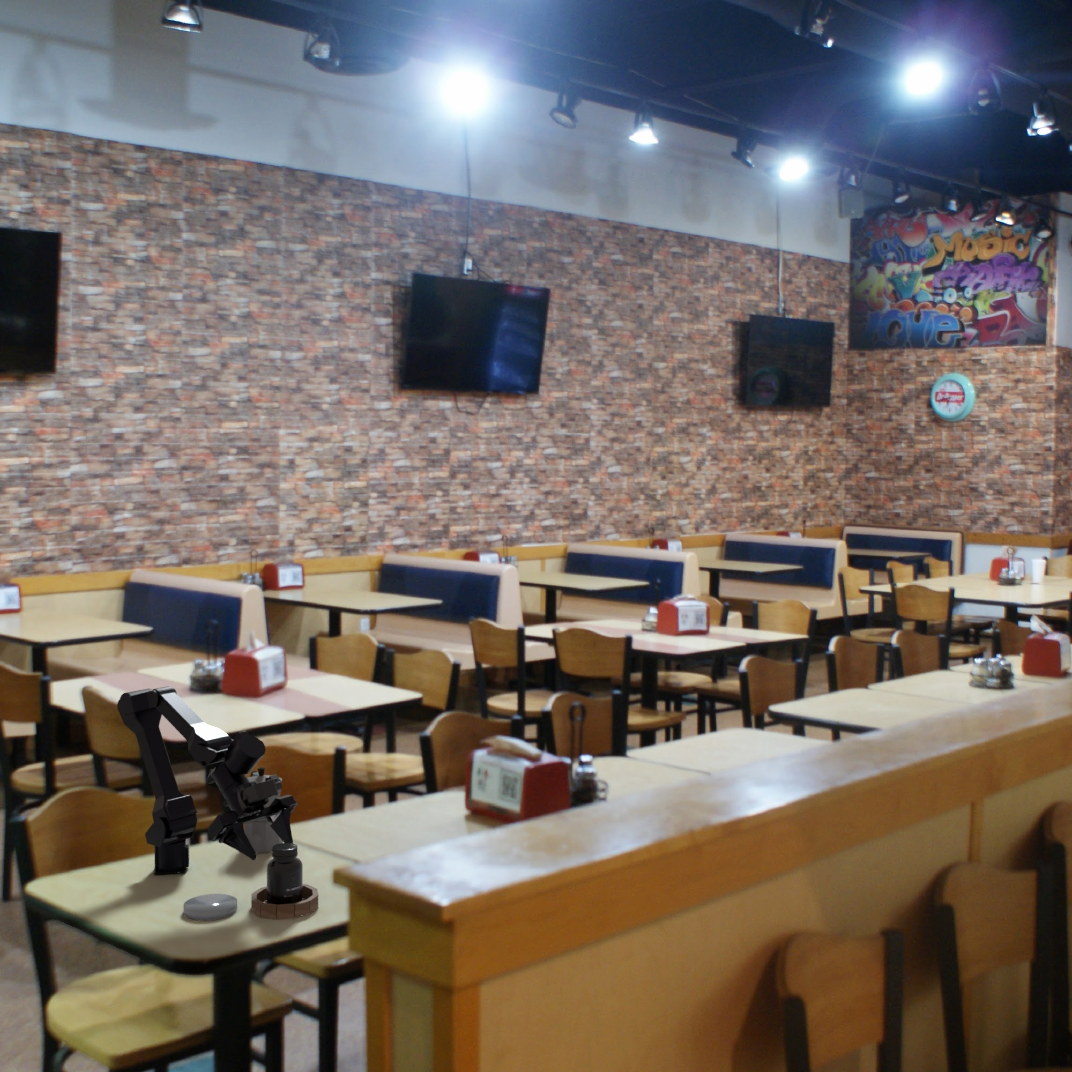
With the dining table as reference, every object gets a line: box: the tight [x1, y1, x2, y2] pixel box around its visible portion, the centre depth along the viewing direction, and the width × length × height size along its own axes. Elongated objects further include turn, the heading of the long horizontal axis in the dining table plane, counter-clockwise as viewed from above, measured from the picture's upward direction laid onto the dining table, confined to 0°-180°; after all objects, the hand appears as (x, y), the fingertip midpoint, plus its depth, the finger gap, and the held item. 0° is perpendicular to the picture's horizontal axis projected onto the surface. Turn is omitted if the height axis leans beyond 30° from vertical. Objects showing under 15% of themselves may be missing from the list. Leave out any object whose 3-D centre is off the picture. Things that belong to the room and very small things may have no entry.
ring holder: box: [250, 883, 319, 920], centre depth 242 cm, size 13×13×2 cm
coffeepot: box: [244, 766, 284, 854], centre depth 279 cm, size 15×9×18 cm, turn 25°
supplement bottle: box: [266, 842, 304, 905], centre depth 242 cm, size 7×7×12 cm
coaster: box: [182, 893, 238, 921], centre depth 240 cm, size 10×10×2 cm
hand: (273, 852), depth 243 cm, fingers open, 9 cm apart
